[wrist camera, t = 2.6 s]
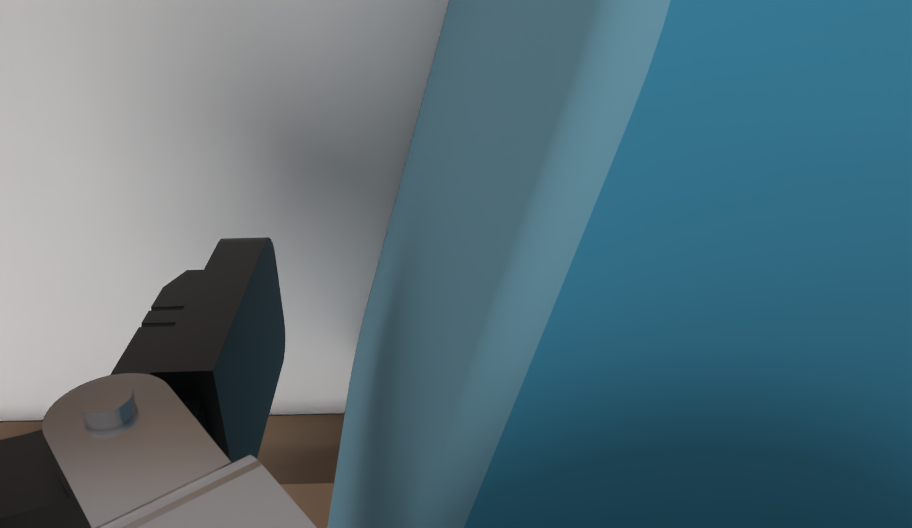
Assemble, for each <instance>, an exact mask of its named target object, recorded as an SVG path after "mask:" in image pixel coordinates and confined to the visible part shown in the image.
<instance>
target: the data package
mask: <svg viewBox="0 0 912 528" xmlns="http://www.w3.org/2000/svg"><path fill="white" fill-rule="evenodd" d="M327 528H912V0H450V1H449V4H448V8H447V12H446V15H445V19H444V23H443V27H442V30H441V34H440V38H439V41H438V45H437V49H436V52H435V56H434V60H433V63H432V67H431V71H430V75H429V78H428V82H427V86H426V89H425V93H424V97H423V100H422V104H421V108H420V111H419V115H418V119H417V122H416V126H415V130H414V134H413V137H412V141H411V145H410V148H409V152H408V156H407V159H406V163H405V167H404V170H403V174H402V178H401V182H400V185H399V189H398V193H397V196H396V200H395V204H394V207H393V211H392V215H391V218H390V222H389V226H388V229H387V233H386V237H385V241H384V244H383V248H382V252H381V255H380V259H379V263H378V266H377V270H376V274H375V277H374V281H373V285H372V289H371V292H370V296H369V300H368V303H367V307H366V311H365V315H364V319H363V323H362V327H361V331H360V335H359V339H358V344H357V348H356V353H355V358H354V362H353V367H352V372H351V378H350V384H349V390H348V396H347V403H346V409H345V416H344V422H343V429H342V435H341V442H340V449H339V455H338V462H337V468H336V475H335V481H334V488H333V494H332V501H331V507H330V514H329V520H328V527H327Z"/></svg>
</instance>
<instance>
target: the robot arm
mask: <svg viewBox="0 0 912 528" xmlns="http://www.w3.org/2000/svg"><path fill="white" fill-rule="evenodd" d="M284 352H285V325H284V317H283V310H282V302H281V295H280V288H279V280H278V273H277V265H276V258H275V251H274V247H273V243H272V241H271V239H270V238H233V239H221V240H220V241H219V242H218V244H217V246H216V248H215V250H214V252H213V254H212V256H211V257H210V259H209V261H208V263H207V265H206V267H205V269H204V270H187V271H185V272H184V273H183V274H181V275H180V276H178V277H177V278H176V279H174V280H173V281H171V282H170V283H169V284H167V285H166V286H164V287H163V288H162V290H161V292H160V293H159V295H158V297H157V298H156V300H155V302H154V303H153V305H152V307H151V311H149V312H148V313H147V315H146V317H145V318H144V320H143V322H142V327H139V328H138V330H137V332H136V333H135V335H134V336H133V338H132V340H131V341H130V343H129V345H128V346H127V348H126V350H125V351H124V353H123V355H122V356H121V358H120V360H119V361H118V363H117V365H116V366H115V368H114V370H113V371H112V373H111V375H110V376H106V377H101V378H98V379H95V380H92V381H89V382H87V383H85V384H82V385H80V386H78V387H76V388H75V389H73V390H71V391H69V392H68V393H66V394H65V395H63V396H62V397H61V398H60V399H58V400H57V401H56V402H55V403H54V404H53V405H52V406H51V407H50V409H49V410H48V411H47V413H46V415H45V416H44V419H43V422H42V429H41V430H38V431H34V432H31V433H27V434H23V435H19V436H15V437H10V438H6V439H2V440H0V528H317V527H316V526H315V525H314V524H313V523H312V522H311V520H310V519H309V518H308V517H307V516H306V515H305V513H304V512H303V511H302V510H301V509H300V508H299V506H298V505H297V504H296V503H295V502H294V501H293V500H292V498H291V497H290V496H289V495H288V494H287V493H286V491H285V490H284V489H283V488H282V487H281V486H280V484H279V483H278V482H277V481H276V480H275V479H274V478H273V476H272V475H271V474H270V473H269V472H268V471H267V469H266V468H265V467H264V466H263V465H262V464H261V463H260V462H259V461H258V460H257V457H258V453H259V449H260V446H261V442H262V438H263V435H264V431H265V427H266V424H267V420H268V416H269V412H270V409H271V405H272V401H273V398H274V394H275V390H276V387H277V383H278V379H279V375H280V372H281V368H282V364H283V360H284Z"/></svg>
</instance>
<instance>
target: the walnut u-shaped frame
mask: <svg viewBox="0 0 912 528" xmlns="http://www.w3.org/2000/svg"><path fill="white" fill-rule="evenodd" d="M344 416H345V414H333V415H290V416H268V420H267V424H266V427H265V431H264V435H263V438H262V442H261V446H260V449H259V453H258V457H257V460H258V461H259V462H260V463H261V464H262V465H263V466H264V467H265V468H266V469H267V471H268V472H269V473H270V474H271V475H272V476H273V478H274V479H275V480H276V481H277V482H278V483H279V484H280V486H281V487H282V488H283V489H284V490H285V491H286V493H287V494H288V495H289V496H290V497H291V498H292V500H293V501H294V502H295V503H296V504H297V505H298V506H299V508H300V509H301V510H302V511H303V512H304V513H305V515H306V516H307V517H308V518H309V519H310V520H311V522H312V523H313V524H314V525H315V526H316V527H317V528H327V527H328V520H329V514H330V507H331V501H332V494H333V488H334V481H335V475H336V468H337V462H338V455H339V449H340V442H341V435H342V429H343V422H344ZM42 422H43V421H31V422H0V440H2V439H6V438H10V437H15V436H19V435H23V434H27V433H31V432H34V431H38V430H41V429H42Z"/></svg>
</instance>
